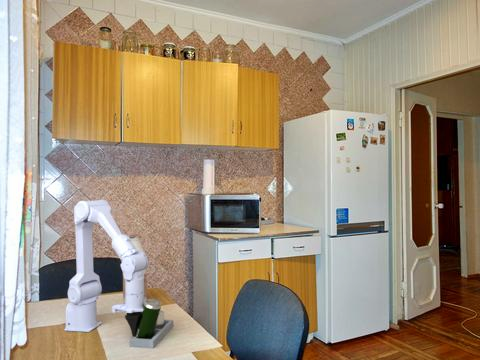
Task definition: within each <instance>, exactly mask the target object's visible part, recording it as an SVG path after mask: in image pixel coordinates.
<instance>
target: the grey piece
mask: <svg viewBox="0 0 480 360" xmlns="http://www.w3.org/2000/svg"><path fill="white" fill-rule="evenodd" d="M173 327H174V319H164V327H163V328H162V329H155V332H154V336H153V338H152V339H138V338H136V337H131V338H130V339H129V348H143V349H154V348H155V347H156V346H157V345H158V344H159V343H160V342H161V340H163V338H165V336H167V334H168V333H169V332H170V331H171V330H172V329H173Z"/></svg>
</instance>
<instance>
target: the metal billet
mask: <svg viewBox="0 0 480 360" xmlns="http://www.w3.org/2000/svg"><path fill="white" fill-rule="evenodd" d="M164 320H165V311H163V310H160V313H159V317H158V320H157V324H156V328H155V329H162V328H163V327H164Z"/></svg>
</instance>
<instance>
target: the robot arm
mask: <svg viewBox="0 0 480 360" xmlns="http://www.w3.org/2000/svg"><path fill="white" fill-rule="evenodd" d="M73 213H74V214H73V217H74V218H73V219H74V228H75V232H74V233H75V253H76V254H75V260H76V262H75V264H76V266H75V267H76V274H75V275H74V276H73V277H72V278H71V279H70V280H69V282H68V283H69V286H68V289H67V297H68V299H69V302H68V303H67V305H66V308H65V328H64V330H63V331H65V332H67V331H69V332H85V333H90V332H92V331H93V330H95V329H96V328H97V327H99V326H101V325H102V324H103V322H102V321H97V320H98V317H97V315H98V313H97V300H99V296H100V295H101V294H102V291H103V290H102V283H101V280H100V275H98V274H97V273H96V272H94V251H93V250H94V248H93V247H94V245H93V227H94V226H95V224H99V225H100V226H101V227H102V229H103V230H104V231H105V233H106V234H107V235H108V236H109V238H110V239H111V247H112V249H113V250H114V252H115V254H116V255H117V256H118V258H119V259H120V262H121V263H120V268H121V270H122V275H123V274H124V279H125V304H124V303H122V304H121V303H120V304H116V303H115V304H113V305H112V306H111V312H112V313H114V314H115V313H126V314H125V315H124V320H125V321H126V322H127V323H128V326H129V328H130V331H131V335H132V338H136V332H137V328H138V325H139V321H140V317H141V313H142V312H143V305H144V269H146V270H147V267H148V264H149V261H148V257H147V254H146V252H145V253H143V252H140V251H139V250H137V249H136V248H135V246H134V245H133V243H132V242H131V240H130V238H129V235H127V234H124V233H122V232H121V230H120V228H119V226H118V224H117V223H116V220H115V219H114V217H113V215H112V214H111V213H112V206H110V204H109V202H108V201H107V199H106V200H105V199H98V200H97V199H96V200H80V201H78V202H77V203H76V204H75V206H74V207H73ZM145 254H146V255H145Z"/></svg>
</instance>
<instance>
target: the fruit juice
mask: <svg viewBox="0 0 480 360" xmlns="http://www.w3.org/2000/svg"><path fill="white" fill-rule="evenodd" d="M128 236H129V238H130V240H131V242H132V243H133V245H134V246H135V248H136V249H137V250H139V251H140V252H143V253H145V255H146V256H147V254H146V252H145V250H144V248H143V246H142V243H141V240H140V239H141V234H137V233H136V234H129V235H128ZM147 278H148V277H147V268H146V269H144V303H145V301H146V300H147V299H148V297H147V296H148V295H147V294H148V293H147V291H148V290H147V288H148V287H147V286H148V285H147V284H148V282H147ZM122 291H123V292H122V294H123V295H122V297H123V298H122V302H123V303H122V304H125V279H124V274H123V273H122Z"/></svg>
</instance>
